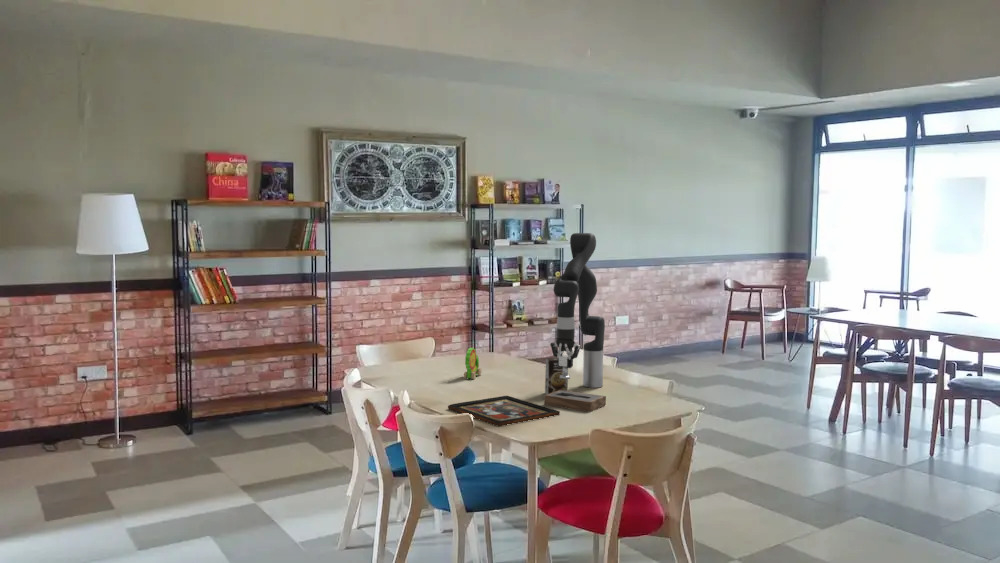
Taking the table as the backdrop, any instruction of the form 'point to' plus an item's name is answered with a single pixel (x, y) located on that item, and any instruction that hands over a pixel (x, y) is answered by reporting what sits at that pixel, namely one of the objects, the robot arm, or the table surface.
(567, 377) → the keyhole stud
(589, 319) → the robot arm
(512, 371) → the table surface
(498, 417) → the framed painting
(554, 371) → the coffee box
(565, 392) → the keyhole box
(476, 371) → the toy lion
